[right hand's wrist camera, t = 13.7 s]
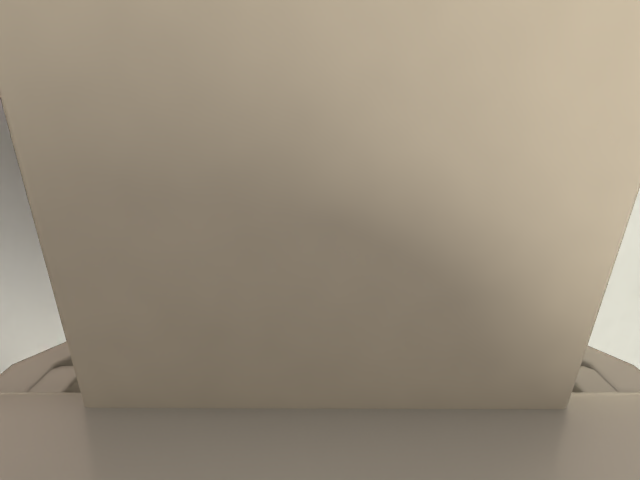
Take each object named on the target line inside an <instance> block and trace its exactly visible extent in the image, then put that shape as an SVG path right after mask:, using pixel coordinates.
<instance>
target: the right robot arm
mask: <svg viewBox="0 0 640 480" xmlns="http://www.w3.org/2000/svg"><path fill="white" fill-rule="evenodd" d="M0 480H640V370H639V369H638V368H637V367H635V366H634V365H632V364H630V363H627V362H625V361H623V360H620V359H618V358H616V357H613V356H611V355H609V354H606V353H604V352H602V351H599V350H597V349H594V348H592V347H590V346H587V348H586V351H585V354H584V357H583V360H582V363H581V366H580V369H579V372H578V375H577V378H576V381H575V384H574V387H573V390H572V393H571V396H570V399H569V402H568V405H567V408H565V409H303V408H87V407H84V403H83V400H82V396H81V392H80V389H79V385H78V381H77V377H76V374H75V370H74V366H73V363H72V359H71V355H70V352H69V348H68V344H67V341H66V342H64V343H62V344H59V345H57V346H55V347H52V348H50V349H48V350H45V351H43V352H41V353H38V354H36V355H34V356H31V357H29V358H27V359H24V360H22V361H20V362H17V363H15V364H13V365H11V366H10V367H9V368H8V369H6V370H5V371H4V372H3V373H2V374H0Z"/></svg>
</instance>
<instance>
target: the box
mask: <svg viewBox="0 0 640 480" xmlns="http://www.w3.org/2000/svg"><path fill="white" fill-rule="evenodd" d="M0 98H1V101H2V105H3V109H4V113H5V116H6V120H7V124H8V127H9V131H10V135H11V138H12V142H13V146H14V149H15V153H16V157H17V160H18V164H19V168H20V171H21V175H22V179H23V182H24V186H25V190H26V193H27V197H28V201H29V205H30V208H31V212H32V216H33V219H34V223H35V227H36V230H37V234H38V238H39V241H40V245H41V249H42V252H43V256H44V260H45V263H46V267H47V271H48V274H49V278H50V282H51V285H52V289H53V293H54V297H55V300H56V304H57V308H58V311H59V315H60V319H61V322H62V326H63V330H64V333H65V337H66V341H67V344H68V348H69V352H70V355H71V359H72V363H73V366H74V370H75V374H76V377H77V381H78V385H79V389H80V392H81V396H82V400H83V403H84V407H87V408H303V409H565V408H567V405H568V402H569V399H570V396H571V393H572V390H573V387H574V384H575V381H576V378H577V375H578V372H579V369H580V366H581V363H582V360H583V357H584V354H585V351H586V348H587V345H588V342H589V339H590V336H591V333H592V330H593V327H594V324H595V321H596V318H597V315H598V312H599V309H600V306H601V303H602V300H603V297H604V294H605V291H606V288H607V285H608V281H609V278H610V275H611V272H612V269H613V266H614V263H615V260H616V257H617V254H618V251H619V248H620V245H621V242H622V239H623V236H624V233H625V230H626V227H627V224H628V221H629V218H630V215H631V212H632V209H633V206H634V203H635V200H636V197H637V194H638V191H639V188H640V0H0Z"/></svg>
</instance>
